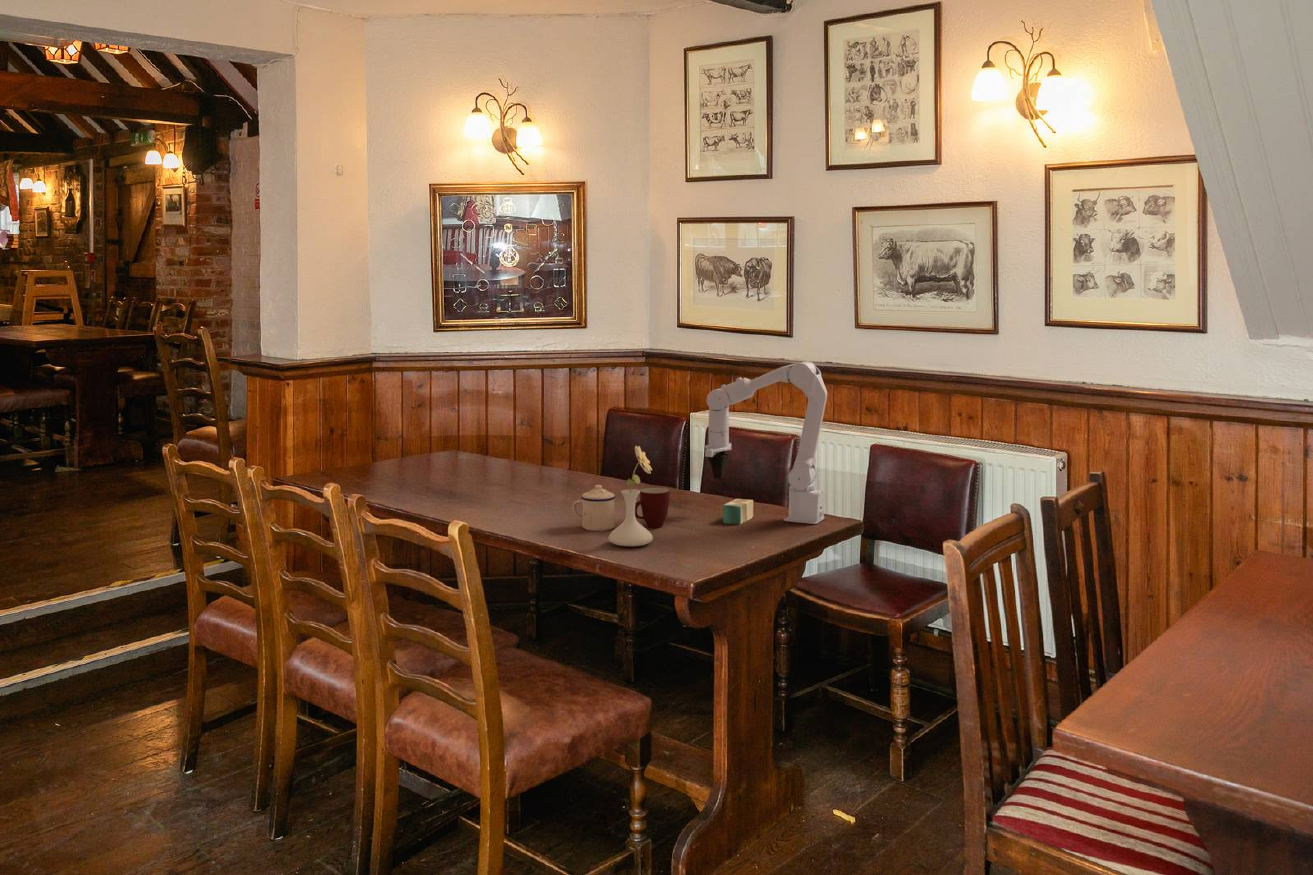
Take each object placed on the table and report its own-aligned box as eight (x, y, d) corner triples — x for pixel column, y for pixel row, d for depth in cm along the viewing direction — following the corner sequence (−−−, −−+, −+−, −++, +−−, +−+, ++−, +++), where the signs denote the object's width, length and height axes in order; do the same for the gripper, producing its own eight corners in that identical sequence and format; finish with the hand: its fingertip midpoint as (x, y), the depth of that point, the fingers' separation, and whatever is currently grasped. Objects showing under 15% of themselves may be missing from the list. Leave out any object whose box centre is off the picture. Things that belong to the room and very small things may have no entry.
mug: (643, 532, 290) (643, 495, 289) (626, 526, 297) (626, 490, 295) (675, 527, 296) (675, 491, 295) (658, 521, 303) (658, 486, 302)
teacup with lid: (619, 525, 299) (619, 483, 297) (608, 532, 290) (608, 489, 289) (579, 522, 303) (578, 481, 301) (566, 529, 294) (566, 487, 292)
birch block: (739, 524, 300) (753, 517, 309) (740, 506, 299) (753, 500, 308) (723, 522, 302) (736, 515, 311) (723, 505, 301) (736, 498, 310)
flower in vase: (637, 552, 270) (636, 452, 266) (599, 546, 276) (598, 448, 272) (664, 541, 281) (664, 445, 277) (627, 536, 286) (627, 441, 283)
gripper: (715, 427, 318) (715, 473, 319) (695, 433, 305) (695, 481, 307) (738, 428, 314) (737, 475, 316) (718, 435, 302) (718, 483, 304)
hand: (718, 478), depth 311 cm, fingers closed
